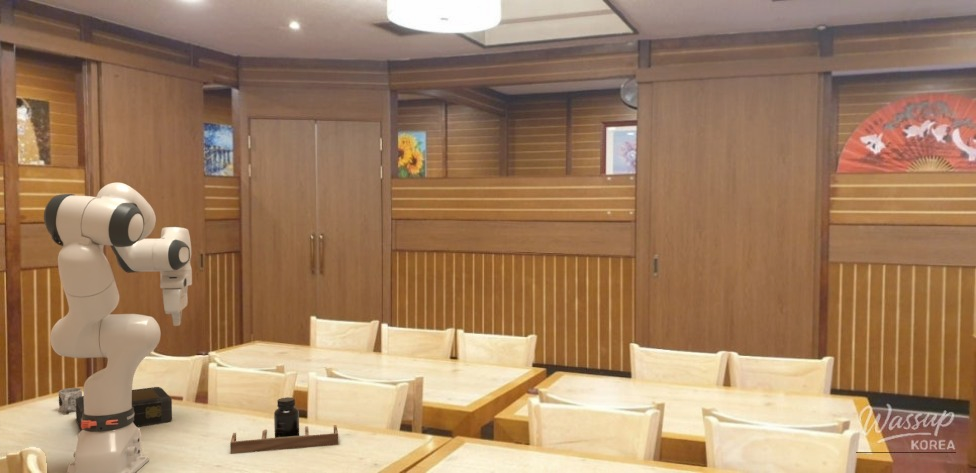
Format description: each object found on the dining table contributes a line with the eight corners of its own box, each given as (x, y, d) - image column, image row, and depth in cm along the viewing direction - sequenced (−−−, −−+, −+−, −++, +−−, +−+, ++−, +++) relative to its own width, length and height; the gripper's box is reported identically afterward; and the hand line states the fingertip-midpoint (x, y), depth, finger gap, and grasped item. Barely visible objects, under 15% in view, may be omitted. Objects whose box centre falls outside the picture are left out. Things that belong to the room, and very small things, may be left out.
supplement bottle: (285, 436, 214) (285, 395, 213) (304, 439, 211) (304, 397, 211) (269, 442, 208) (268, 400, 207) (288, 446, 205) (287, 403, 204)
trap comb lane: (338, 444, 206) (338, 434, 206) (230, 453, 199) (230, 442, 199) (334, 425, 224) (334, 416, 224) (235, 433, 217) (235, 423, 216)
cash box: (161, 408, 246) (160, 385, 246) (173, 422, 229) (172, 398, 229) (75, 420, 232) (75, 396, 232) (81, 436, 215) (81, 410, 215)
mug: (62, 408, 245) (61, 388, 245) (84, 406, 247) (83, 387, 247) (54, 416, 235) (53, 395, 235) (77, 414, 237) (76, 394, 237)
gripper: (170, 277, 232) (171, 320, 233) (158, 283, 213) (159, 330, 213) (192, 276, 234) (192, 320, 234) (182, 282, 214) (183, 329, 215)
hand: (177, 325), depth 223 cm, fingers closed
